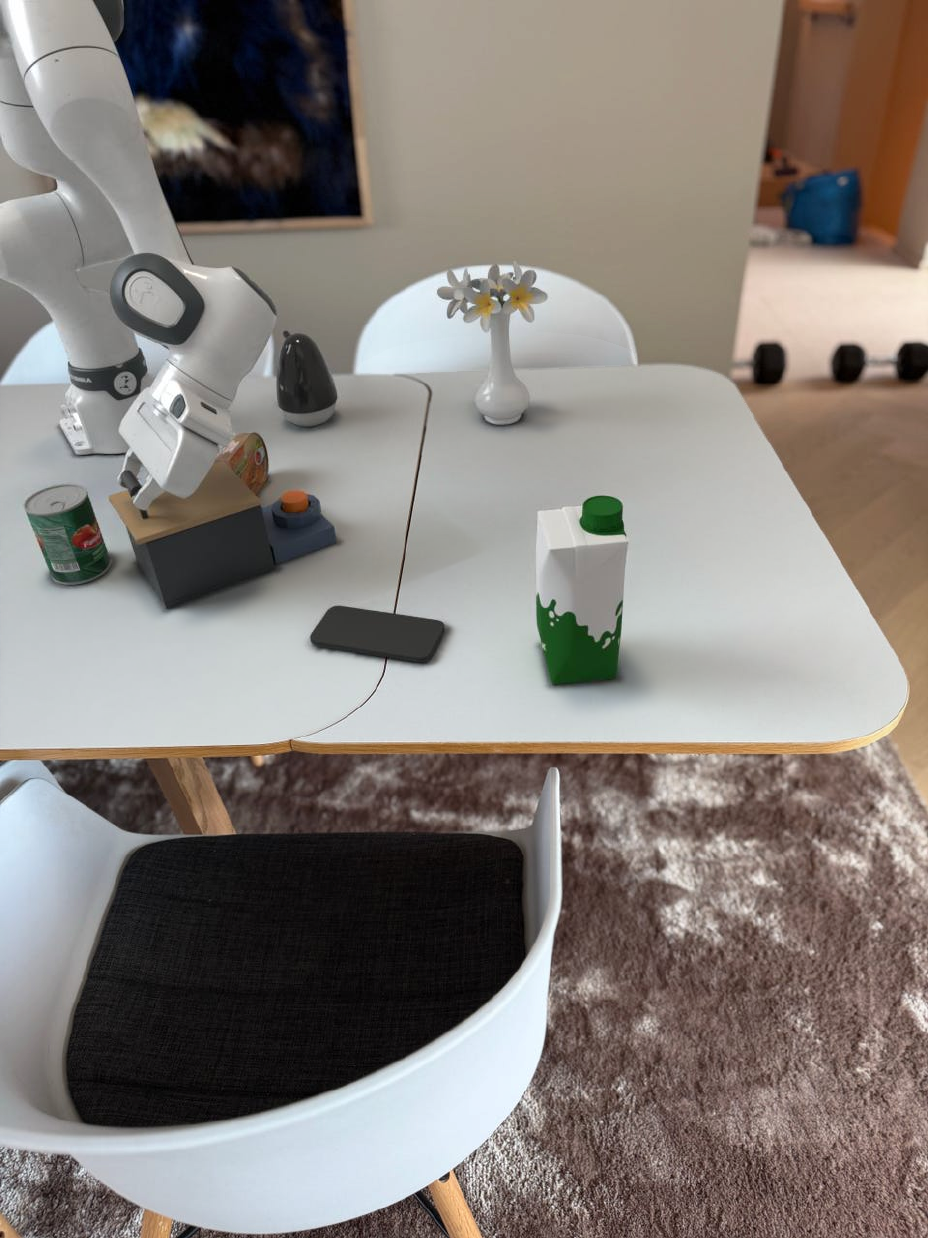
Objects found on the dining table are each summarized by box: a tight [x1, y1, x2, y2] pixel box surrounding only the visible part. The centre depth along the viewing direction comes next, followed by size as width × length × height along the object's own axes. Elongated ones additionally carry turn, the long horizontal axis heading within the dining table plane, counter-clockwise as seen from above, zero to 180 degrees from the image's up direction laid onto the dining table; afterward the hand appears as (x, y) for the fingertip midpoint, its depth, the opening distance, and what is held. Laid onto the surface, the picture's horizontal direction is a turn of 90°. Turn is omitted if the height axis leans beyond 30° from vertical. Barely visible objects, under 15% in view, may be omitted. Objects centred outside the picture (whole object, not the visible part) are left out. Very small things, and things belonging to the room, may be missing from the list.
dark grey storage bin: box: [125, 504, 276, 610], centre depth 120 cm, size 15×13×10 cm
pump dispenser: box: [275, 330, 339, 427], centre depth 153 cm, size 10×10×15 cm
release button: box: [280, 489, 309, 513], centre depth 125 cm, size 4×4×2 cm
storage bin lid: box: [107, 461, 262, 545], centre depth 115 cm, size 16×13×5 cm
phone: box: [309, 605, 446, 663], centre depth 108 cm, size 7×1×15 cm
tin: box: [214, 431, 270, 496], centre depth 135 cm, size 15×3×8 cm, turn 168°
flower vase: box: [436, 260, 549, 426], centre depth 147 cm, size 13×18×25 cm
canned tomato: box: [23, 483, 112, 586], centre depth 121 cm, size 8×8×11 cm
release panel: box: [261, 493, 337, 565], centre depth 126 cm, size 9×11×4 cm
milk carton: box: [535, 494, 629, 686], centre depth 96 cm, size 9×9×20 cm
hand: (130, 496), depth 112 cm, fingers closed on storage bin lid, 5 cm apart
